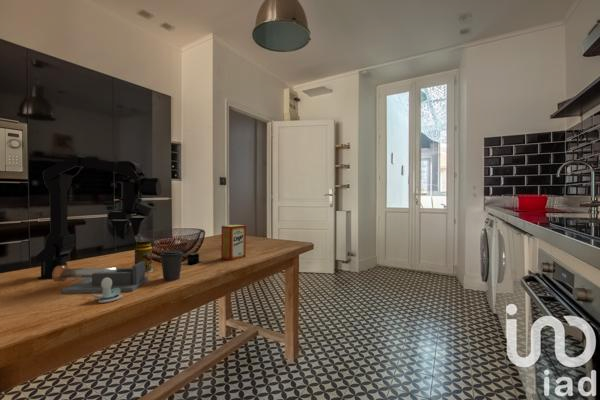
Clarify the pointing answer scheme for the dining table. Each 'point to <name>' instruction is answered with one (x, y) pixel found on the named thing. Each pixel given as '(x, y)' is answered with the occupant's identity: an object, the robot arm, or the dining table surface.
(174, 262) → the coffee cup
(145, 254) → the condiment
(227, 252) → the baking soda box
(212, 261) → the dining table surface
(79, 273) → the shaft
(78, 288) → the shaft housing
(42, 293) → the dining table surface
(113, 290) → the pacifier
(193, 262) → the black block
